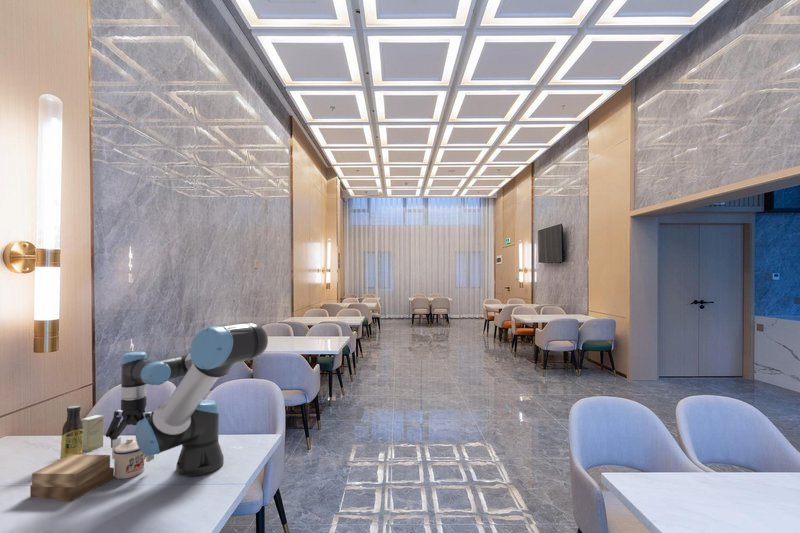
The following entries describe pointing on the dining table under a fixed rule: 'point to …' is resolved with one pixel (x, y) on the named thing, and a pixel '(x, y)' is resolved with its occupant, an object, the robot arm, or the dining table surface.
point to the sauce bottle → (72, 433)
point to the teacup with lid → (128, 460)
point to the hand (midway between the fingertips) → (133, 458)
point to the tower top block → (70, 471)
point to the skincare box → (92, 432)
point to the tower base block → (72, 488)
